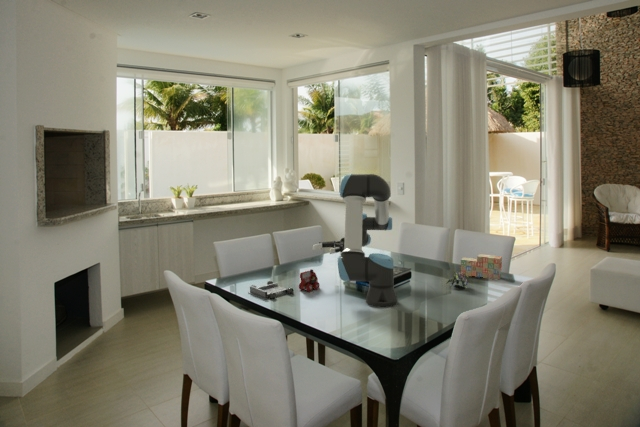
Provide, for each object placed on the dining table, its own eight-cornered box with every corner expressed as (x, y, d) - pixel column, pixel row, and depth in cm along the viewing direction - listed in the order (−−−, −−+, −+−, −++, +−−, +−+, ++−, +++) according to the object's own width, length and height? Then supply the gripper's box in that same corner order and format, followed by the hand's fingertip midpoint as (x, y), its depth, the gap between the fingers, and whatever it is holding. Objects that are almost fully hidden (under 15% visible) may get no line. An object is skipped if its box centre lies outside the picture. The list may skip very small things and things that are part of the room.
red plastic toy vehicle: (322, 288, 251) (321, 269, 249) (306, 293, 242) (305, 274, 240) (312, 285, 255) (312, 267, 254) (296, 291, 246) (296, 271, 245)
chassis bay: (295, 292, 243) (295, 286, 242) (267, 300, 231) (266, 293, 231) (273, 285, 258) (273, 278, 257) (245, 292, 246) (245, 285, 245)
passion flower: (464, 298, 245) (471, 284, 237) (444, 294, 246) (450, 280, 238) (463, 281, 253) (470, 267, 245) (443, 278, 254) (449, 263, 246)
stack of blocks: (460, 275, 270) (460, 254, 268) (463, 272, 275) (463, 252, 274) (499, 280, 259) (499, 258, 257) (501, 277, 264) (502, 256, 262)
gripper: (365, 253, 257) (337, 260, 243) (333, 246, 275) (306, 252, 261) (365, 239, 256) (337, 246, 242) (333, 233, 274) (306, 239, 260)
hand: (321, 249), depth 251 cm, fingers open, 13 cm apart
